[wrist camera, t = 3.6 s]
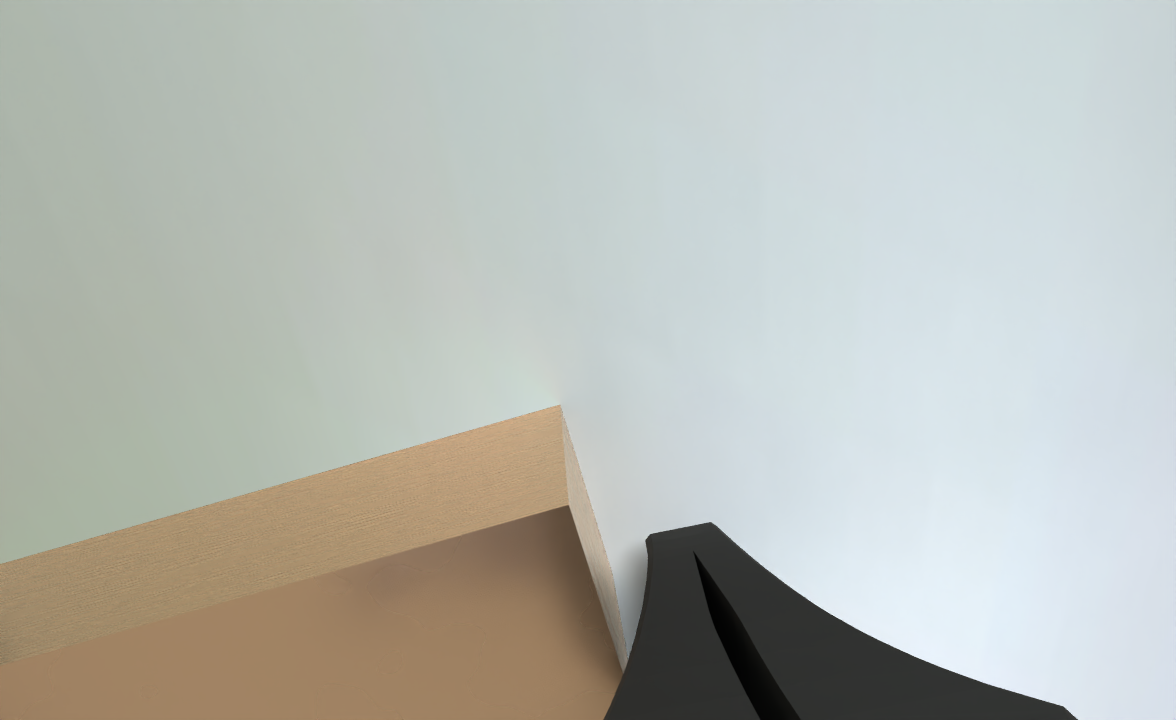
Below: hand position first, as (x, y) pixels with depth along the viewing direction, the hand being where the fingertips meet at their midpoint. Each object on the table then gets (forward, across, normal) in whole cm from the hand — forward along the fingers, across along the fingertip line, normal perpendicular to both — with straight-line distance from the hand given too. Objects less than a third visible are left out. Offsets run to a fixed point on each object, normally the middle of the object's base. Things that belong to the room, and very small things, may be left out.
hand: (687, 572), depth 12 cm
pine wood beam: (+1, +9, -1) cm, 9 cm away
